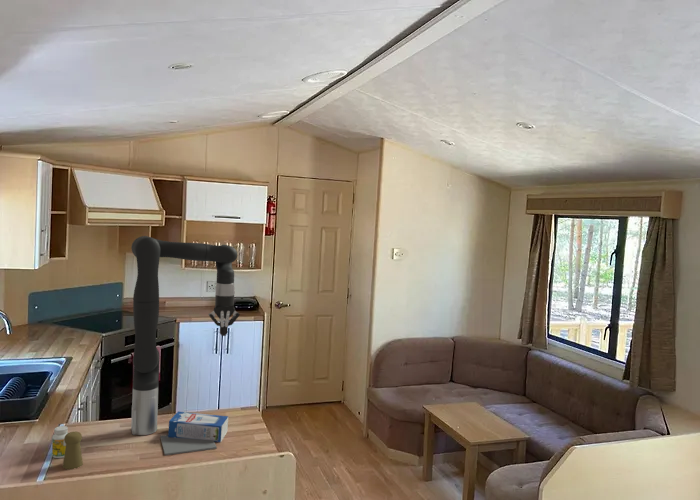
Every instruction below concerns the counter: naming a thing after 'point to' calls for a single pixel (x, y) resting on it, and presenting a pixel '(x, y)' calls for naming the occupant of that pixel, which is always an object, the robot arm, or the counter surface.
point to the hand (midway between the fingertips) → (223, 335)
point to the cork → (72, 451)
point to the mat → (185, 445)
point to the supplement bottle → (59, 442)
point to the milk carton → (198, 426)
